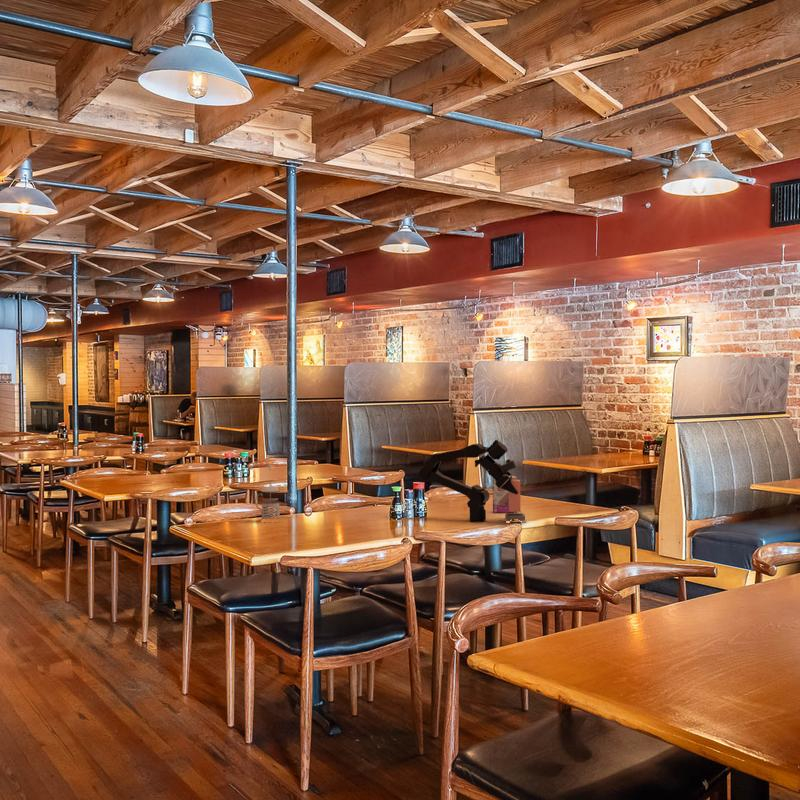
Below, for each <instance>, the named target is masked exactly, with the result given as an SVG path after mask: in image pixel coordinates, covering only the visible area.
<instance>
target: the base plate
mask: <svg viewBox="0 0 800 800" xmlns="http://www.w3.org/2000/svg"><path fill="white" fill-rule="evenodd" d="M504 514H505V515H504V516H505V517H504V522H505V521H510V520H511V519H518V520H520V521H522V523H521V524H527V520H526V515H525V514H524V513H521V512H517V513H504Z"/></svg>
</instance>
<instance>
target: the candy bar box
mask: <svg viewBox="0 0 800 800" xmlns="http://www.w3.org/2000/svg"><path fill="white" fill-rule="evenodd" d="M510 476H511V475H510ZM510 476H509V477H510ZM512 480H518V476H513V475H512ZM492 513H493V514H507V513H513V512H510V511H509V491H507V490H504V489H502V488H501V487H500V488H498V487H497V486H496V481H495V479H494V478H493V477H492Z"/></svg>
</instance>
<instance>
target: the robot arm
mask: <svg viewBox="0 0 800 800" xmlns="http://www.w3.org/2000/svg"><path fill="white" fill-rule="evenodd" d="M508 452H509V449H508V448H507V446H506V445H505V444H503V443H502V442H501V441H499V439H495V440H494V441H493V443H491V445H489V447H488V446H484V445H483V444H481V443H472V444H470V445H468V446H464V447H463V448H460V449H454V450H450V451H449V450H448V451H444V452H438V453H437V452H436V453H433V454H432V455H431V457H430V459H429V460H428V461H427V462H426V463H425V465H424V466H423V467H422V468H421V469H420V470H419V472H418V476H419V479H420V480H421V481H424V482H428V483H434V484H438V485H441V486H443V487H445V488H447V489H450V490H452V491H454V492H457V493H459V494H462V495H464V496H465V497H467V498H468V501H467V502H466V505H467V507H468V509H469V513H468V514H469V519H468V520H469V522H470V523H473V522H475V523H478V522H479V523H481V522H482V523H483V522H486V520H487V515H486V514H487V513H486V509H485V506H486V503H487V502H488V501H489V500H490V493H489V492H490V491H489V490H487V489H486V487H482V486H481V485H478V484H475V485H472V486H470V485H467V484H465V483H463V482H460V481H459V480H456V479H453V478H451V477H449V476H446V475H444V474H443V473H442V472H441V471H439V469H440V465H441V463H442V462H444V461H449V460H456V459H460V458H465V459H466V458H467V459H470V458H471V459H473V458H478V459H475V460H474V468H477V467H478V466H481V468H482V469H483V470H484V471H486V473H487V474H488V475H489V476H490V477H492V479H493V478H494V479H495V481H496V486H497V487H498V488H500V487H501V488H502V489H504V490H507V491H509V492H511V493H514V494H516V495H517V494H518V491H517V490H516V489H515V487H514V486H513V484H512V483H511V480H512V476H513V475H512V472H510V470H514V469H516V468H517V465H516V463H515V460H514V459H512V460H511V459H510V458H508V459H506V460H505V463H503V464H501V463H499V462H496V460H498V461H499V460H500V459H501V458H502V457H504V455H505V454H506V453H508ZM484 454H486V455H484ZM509 476H510V477H509Z"/></svg>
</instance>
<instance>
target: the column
mask: <svg viewBox="0 0 800 800" xmlns="http://www.w3.org/2000/svg"><path fill="white" fill-rule="evenodd" d="M511 483H512V484H513V486H514V487H515V489H516V490H517V491H518V494H517V495H516V494H514V493H511V492H509V511H510V512H517V513H521V507H522V506H521V501H522V500H521V480H520V479H517V480H511Z"/></svg>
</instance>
